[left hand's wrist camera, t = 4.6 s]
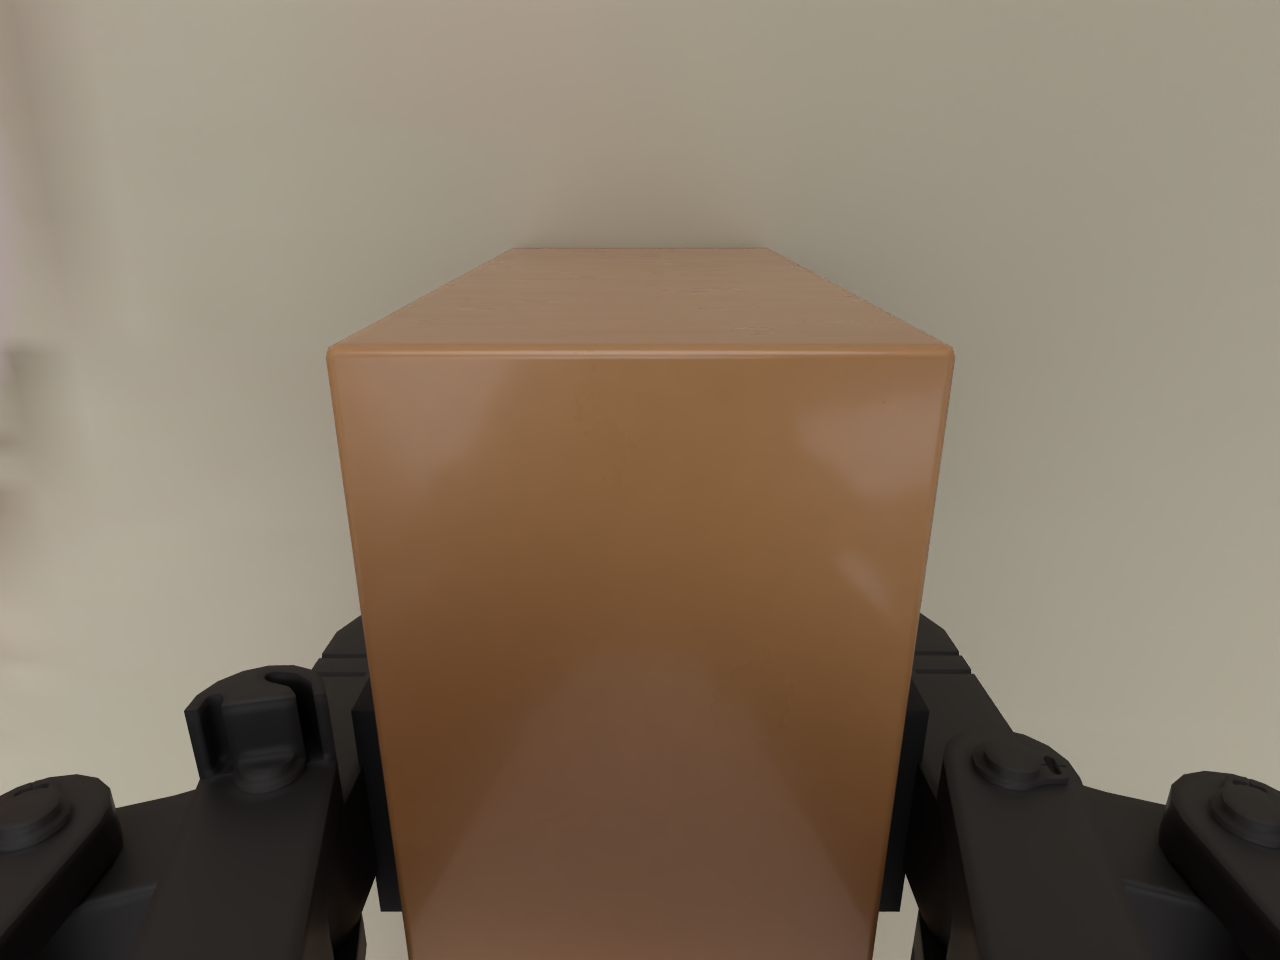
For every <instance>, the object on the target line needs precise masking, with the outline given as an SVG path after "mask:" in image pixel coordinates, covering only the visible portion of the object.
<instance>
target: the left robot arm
mask: <svg viewBox="0 0 1280 960" xmlns="http://www.w3.org/2000/svg"><path fill="white" fill-rule="evenodd" d="M184 713H185V717H186V722H187V726H188V730H189V734H190V739H191V743H192V747H193V751H194V756H195V760H196V764H197V768H198V773H199V777H200V780H199V783H198V785H197V788H196V789H195V790H192V791H189V792H185V793H182V794H178V795H175V796H170V797H166V798H161V799H156V800H152V801H147V802H143V803H138V804H133V805H129V806H124V807H120V808H115V805H114V801H113V798H112V794H111V790H110V788H109V787H108V786H107V785H106V784H104V783H103V782H102V781H101V780H100V779H99V778H95V777H89V776H84V775H78V774H75V775H66V776H57V777H49V778H46V779H42V780H38V781H35V782H33V783H28V784H25V785H22V786H20V787H17V788H15V789H13V790H11V791H9V792H7V793H5V794H3V795H1V796H0V960H365V956H366V946H367V944H366V937H365V930H364V923H363V917H362V910H363V908H364V905H365V902H366V900H367V897H368V895H369V892H370V889H371V887H372V884H373V881H374V879H375V876H376V882H377V889H378V896H379V902H380V909H381V912H401V911H402V907H401V900H400V893H399V885H398V878H397V871H396V863H395V856H394V849H393V842H392V834H391V827H390V820H389V812H388V805H387V798H386V790H385V783H384V776H383V769H382V761H381V754H380V747H379V739H378V732H377V725H376V718H375V710H374V703H373V696H372V688H371V681H370V674H369V667H368V659H367V652H366V645H365V637H364V630H363V623H362V616H359V617H358V618H356V619H355V620H353V621H352V622H351V623H349V624H348V625H346V626H345V627H343V628H342V629H341V630H339V631H338V632H336V634H335V635H334V637H333V638H332V640H331V641H330V643H329V644H328V646H327V647H326V649H325V650H324V652H323V653H322V658H319V659H318V661H317V662H316V664H315V665H314V667H313V668H312V670H310V669H307V668H303V667H299V666H295V665H275V666H265V667H260V668H256V669H251V670H246V671H242V672H240V673H237V674H235V675H232V676H230V677H227V678H225V679H222V680H220V681H218V682H216V683H215V684H213V685H212V686H210V687H209V688H207V689H206V690H204V691H203V692H201V693H200V694H198V695H197V696H196V697H195V698H194V699H193V701H192V702H191V703H190V704H189V706H188V707H187V708H186V709H185V710H184ZM905 874H906V876H907V879H908V881H909V884H910V887H911V889H912V892H913V895H914V897H915V900H916V902H917V905H918V908H919V911H918V917H917V923H916V930H915V936H914V942H913V948H912V955H911V960H1280V791H1278V790H1276V789H1274V788H1272V787H1270V786H1268V785H1266V784H1264V783H1261V782H1258V781H1255V780H1252V779H1247V778H1246V777H1241V776H1237V775H1234V774H1228V773H1219V772H1210V771H1201V772H1196V773H1190V774H1184V775H1183V776H1181V777H1180V778H1179V779H1178V780H1177V781H1176V782H1174V783H1173V784H1172V786H1171V789H1170V793H1169V796H1168V800H1167V803H1166V805H1163V804H1158V803H1154V802H1149V801H1144V800H1140V799H1135V798H1131V797H1126V796H1121V795H1117V794H1112V793H1107V792H1104V791H1100V790H1097V789H1093V788H1090V787H1086V786H1084V785H1083V784H1082V781H1081V779H1080V777H1079V776H1078V774H1077V773H1076V771H1075V770H1074V769H1073V767H1072V766H1071V764H1070V763H1069V761H1068V760H1066V759H1065V758H1064V757H1062V756H1061V755H1060V754H1058V753H1057V752H1056V751H1054V750H1053V749H1052V748H1051V747H1049V746H1048V745H1045V744H1043V743H1041V742H1039V741H1037V740H1035V739H1032V738H1030V737H1028V736H1026V735H1023V734H1019V733H1015V732H1013V731H1012V729H1011V728H1010V726H1009V725H1008V723H1007V722H1006V721H1005V719H1004V718H1003V716H1002V715H1001V713H1000V712H999V710H998V709H997V707H996V706H995V704H994V703H993V701H992V700H991V698H990V697H989V695H988V694H987V692H986V691H985V689H984V688H983V686H982V685H981V683H980V682H979V681H978V679H977V678H976V676H975V675H974V674H971V669H970V667H969V666H968V664H967V663H966V661H965V660H964V658H963V657H962V656H959V651H958V649H957V648H956V646H955V645H954V643H953V642H952V641H951V639H950V638H949V636H948V635H947V633H946V632H945V630H944V629H943V628H941V627H940V626H938V625H937V624H935V623H934V622H932V621H931V620H930V619H928V618H927V617H925V616H924V615H922V614H921V613H920V615H919V623H918V630H917V637H916V644H915V652H914V659H913V666H912V673H911V681H910V688H909V695H908V702H907V710H906V717H905V724H904V732H903V739H902V746H901V753H900V761H899V768H898V775H897V782H896V790H895V797H894V804H893V811H892V819H891V826H890V833H889V841H888V848H887V855H886V862H885V870H884V877H883V884H882V891H881V899H880V906H879V912H900V905H901V899H902V892H903V885H904V879H905Z"/></svg>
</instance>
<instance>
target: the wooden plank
mask: <svg viewBox="0 0 1280 960" xmlns="http://www.w3.org/2000/svg"><path fill="white" fill-rule="evenodd" d="M326 361H327V368H328V375H329V382H330V390H331V397H332V404H333V412H334V419H335V426H336V433H337V441H338V448H339V455H340V463H341V470H342V477H343V484H344V492H345V499H346V506H347V514H348V521H349V528H350V535H351V543H352V550H353V557H354V565H355V572H356V579H357V586H358V594H359V601H360V608H361V616H362V623H363V630H364V637H365V645H366V652H367V659H368V667H369V674H370V681H371V688H372V696H373V703H374V710H375V718H376V725H377V732H378V739H379V747H380V754H381V761H382V769H383V776H384V783H385V790H386V798H387V805H388V812H389V820H390V827H391V834H392V842H393V849H394V856H395V863H396V871H397V878H398V885H399V893H400V900H401V907H402V914H403V922H404V929H405V936H406V944H407V951H408V958H409V960H872V957H873V949H874V942H875V935H876V928H877V920H878V913H879V906H880V899H881V891H882V884H883V877H884V870H885V862H886V855H887V848H888V841H889V833H890V826H891V819H892V811H893V804H894V797H895V790H896V782H897V775H898V768H899V761H900V753H901V746H902V739H903V732H904V724H905V717H906V710H907V702H908V695H909V688H910V681H911V673H912V666H913V659H914V652H915V644H916V637H917V630H918V623H919V615H920V608H921V601H922V594H923V586H924V579H925V572H926V564H927V557H928V550H929V543H930V535H931V528H932V521H933V514H934V506H935V499H936V492H937V485H938V477H939V470H940V463H941V455H942V448H943V441H944V434H945V426H946V419H947V412H948V405H949V397H950V390H951V383H952V376H953V368H954V361H955V355H954V351H953V348H952V347H951V346H949V345H947V344H945V343H943V342H941V341H939V340H937V339H936V338H934V337H932V336H930V335H928V334H926V333H924V332H923V331H921V330H919V329H917V328H915V327H913V326H911V325H909V324H908V323H906V322H904V321H902V320H900V319H898V318H896V317H895V316H893V315H891V314H889V313H887V312H885V311H883V310H881V309H880V308H878V307H876V306H874V305H872V304H870V303H868V302H867V301H865V300H863V299H861V298H859V297H857V296H855V295H853V294H852V293H850V292H848V291H846V290H844V289H842V288H840V287H839V286H837V285H835V284H833V283H831V282H829V281H827V280H825V279H824V278H822V277H820V276H818V275H816V274H814V273H812V272H811V271H809V270H807V269H805V268H803V267H801V266H799V265H798V264H796V263H794V262H792V261H790V260H788V259H786V258H784V257H783V256H781V255H779V254H777V253H775V252H773V251H771V250H769V249H767V248H513V249H511V250H509V251H507V252H505V253H503V254H501V255H500V256H498V257H496V258H494V259H492V260H490V261H488V262H487V263H485V264H483V265H481V266H479V267H477V268H475V269H474V270H472V271H470V272H468V273H466V274H464V275H462V276H461V277H459V278H457V279H455V280H453V281H451V282H449V283H448V284H446V285H444V286H442V287H440V288H438V289H436V290H435V291H433V292H431V293H429V294H427V295H425V296H423V297H422V298H420V299H418V300H416V301H414V302H412V303H410V304H409V305H407V306H405V307H403V308H401V309H399V310H397V311H396V312H394V313H392V314H390V315H388V316H386V317H384V318H383V319H381V320H379V321H377V322H375V323H373V324H371V325H370V326H368V327H366V328H364V329H362V330H360V331H358V332H357V333H355V334H353V335H351V336H349V337H347V338H345V339H344V340H342V341H340V342H338V343H336V344H334V345H332V346H331V347H329V348H328V352H327V355H326Z"/></svg>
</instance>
